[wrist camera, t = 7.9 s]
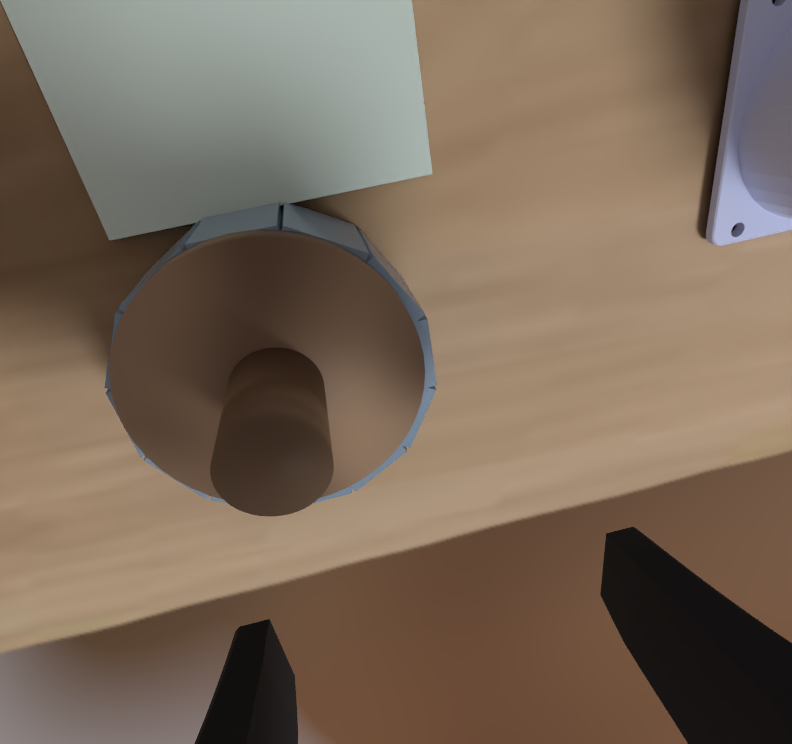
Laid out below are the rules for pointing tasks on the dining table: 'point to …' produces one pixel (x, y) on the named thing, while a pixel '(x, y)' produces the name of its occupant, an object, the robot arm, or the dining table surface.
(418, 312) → the bowl
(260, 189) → the mat
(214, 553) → the dining table surface
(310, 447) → the lid
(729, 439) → the dining table surface
